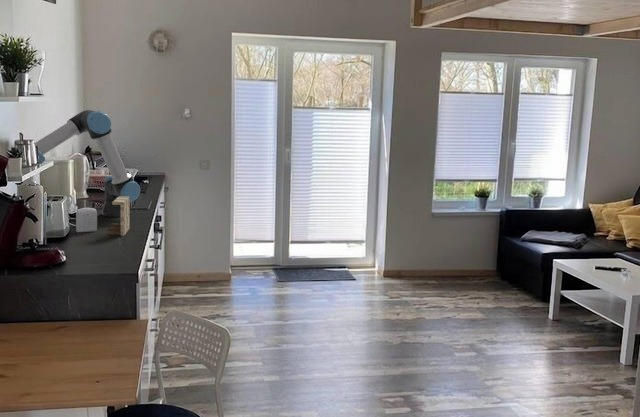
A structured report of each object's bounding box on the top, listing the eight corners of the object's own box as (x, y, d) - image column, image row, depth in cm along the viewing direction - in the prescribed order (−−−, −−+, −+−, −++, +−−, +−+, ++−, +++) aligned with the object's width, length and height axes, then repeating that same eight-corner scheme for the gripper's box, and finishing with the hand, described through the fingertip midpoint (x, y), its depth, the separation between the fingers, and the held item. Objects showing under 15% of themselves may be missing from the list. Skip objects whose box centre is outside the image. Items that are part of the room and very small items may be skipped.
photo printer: (95, 229, 326) (95, 206, 324) (98, 231, 322) (97, 208, 320) (75, 231, 320) (74, 207, 318) (77, 233, 317) (76, 209, 314)
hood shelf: (113, 228, 332) (112, 196, 329) (129, 228, 333) (129, 196, 330) (106, 235, 314) (106, 202, 311) (123, 235, 315) (123, 202, 312)
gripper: (30, 191, 320) (64, 223, 325) (21, 195, 307) (57, 229, 313) (40, 181, 320) (75, 214, 325) (32, 185, 307) (68, 218, 312)
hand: (66, 221), depth 319 cm, fingers closed
